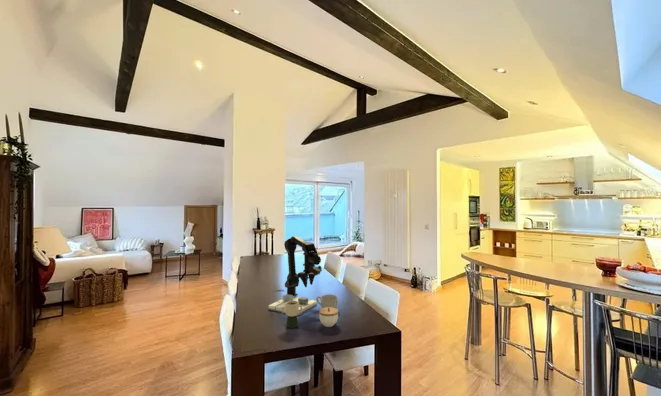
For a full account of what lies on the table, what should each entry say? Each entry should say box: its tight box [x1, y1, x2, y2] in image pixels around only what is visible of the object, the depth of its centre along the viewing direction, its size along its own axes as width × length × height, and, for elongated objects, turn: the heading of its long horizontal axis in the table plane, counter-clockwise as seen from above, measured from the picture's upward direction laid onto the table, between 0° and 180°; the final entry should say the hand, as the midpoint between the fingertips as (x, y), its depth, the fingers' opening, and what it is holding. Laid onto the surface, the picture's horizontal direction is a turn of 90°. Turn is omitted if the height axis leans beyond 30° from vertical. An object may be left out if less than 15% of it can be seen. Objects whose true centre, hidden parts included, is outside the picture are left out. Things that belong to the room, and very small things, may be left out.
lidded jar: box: [318, 307, 339, 328], centre depth 162 cm, size 11×11×9 cm
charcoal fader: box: [298, 296, 309, 305], centre depth 189 cm, size 4×5×5 cm
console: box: [268, 296, 318, 317], centre depth 189 cm, size 22×22×3 cm
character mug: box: [281, 301, 302, 329], centre depth 159 cm, size 11×7×13 cm, turn 106°
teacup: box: [315, 293, 339, 309], centre depth 186 cm, size 14×11×8 cm
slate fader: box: [282, 293, 293, 301], centre depth 194 cm, size 4×5×5 cm
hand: (308, 286), depth 194 cm, fingers open, 6 cm apart
